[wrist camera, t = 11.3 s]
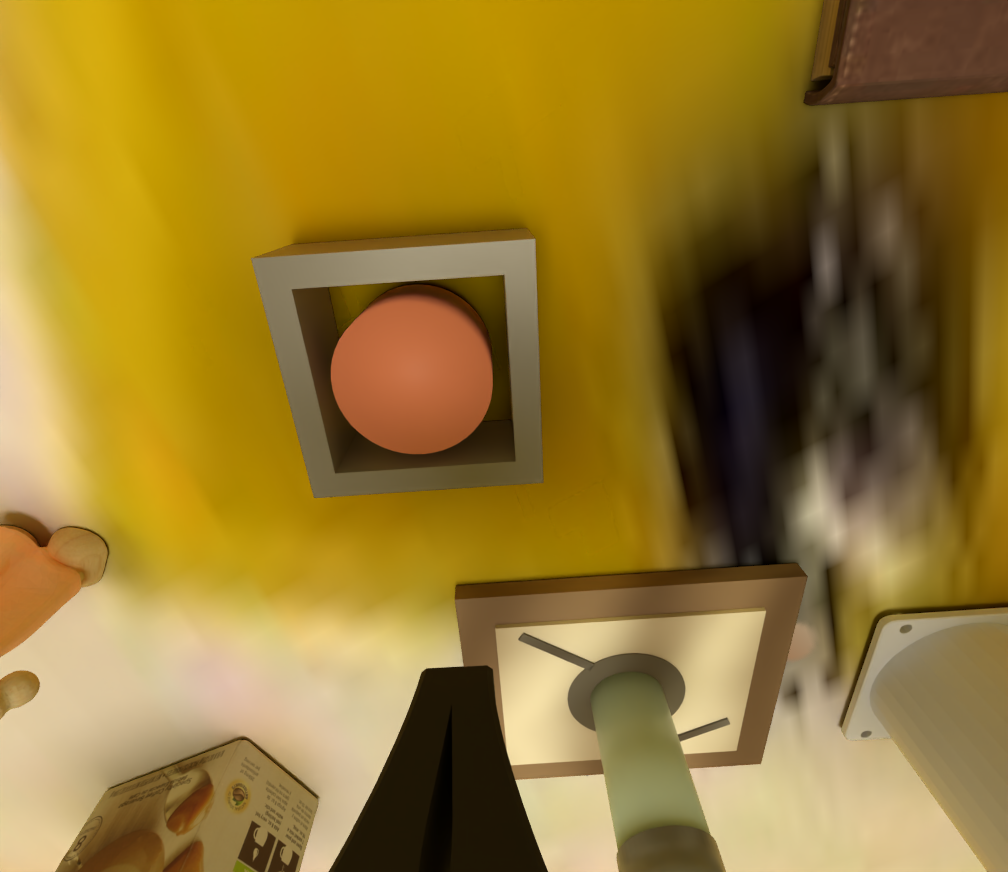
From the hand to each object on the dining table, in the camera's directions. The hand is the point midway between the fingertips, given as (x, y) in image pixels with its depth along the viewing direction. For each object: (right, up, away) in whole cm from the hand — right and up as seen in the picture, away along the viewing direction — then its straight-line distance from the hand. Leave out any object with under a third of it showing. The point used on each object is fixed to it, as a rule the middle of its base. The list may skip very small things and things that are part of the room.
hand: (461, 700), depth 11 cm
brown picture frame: (+6, -6, +14) cm, 16 cm away
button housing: (-2, +8, +6) cm, 11 cm away
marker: (+6, -6, +13) cm, 15 cm away
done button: (-2, +8, +6) cm, 10 cm away
